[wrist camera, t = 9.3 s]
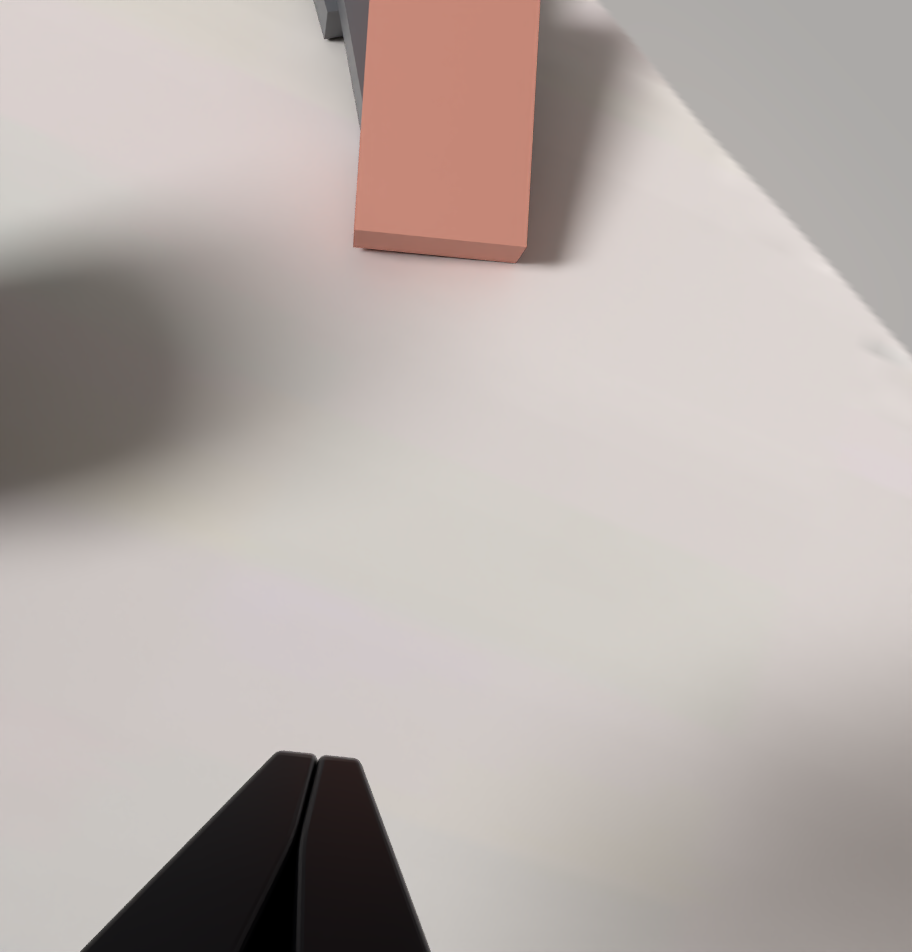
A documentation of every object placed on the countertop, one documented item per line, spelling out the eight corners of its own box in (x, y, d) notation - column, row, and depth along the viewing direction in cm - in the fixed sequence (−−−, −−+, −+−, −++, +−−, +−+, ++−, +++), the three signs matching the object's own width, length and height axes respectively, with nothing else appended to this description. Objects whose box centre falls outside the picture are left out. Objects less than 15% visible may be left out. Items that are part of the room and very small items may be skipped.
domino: (526, 247, 25) (544, -83, 26) (354, 229, 25) (376, -109, 25) (515, 263, 27) (533, -48, 27) (352, 247, 26) (374, -72, 27)
